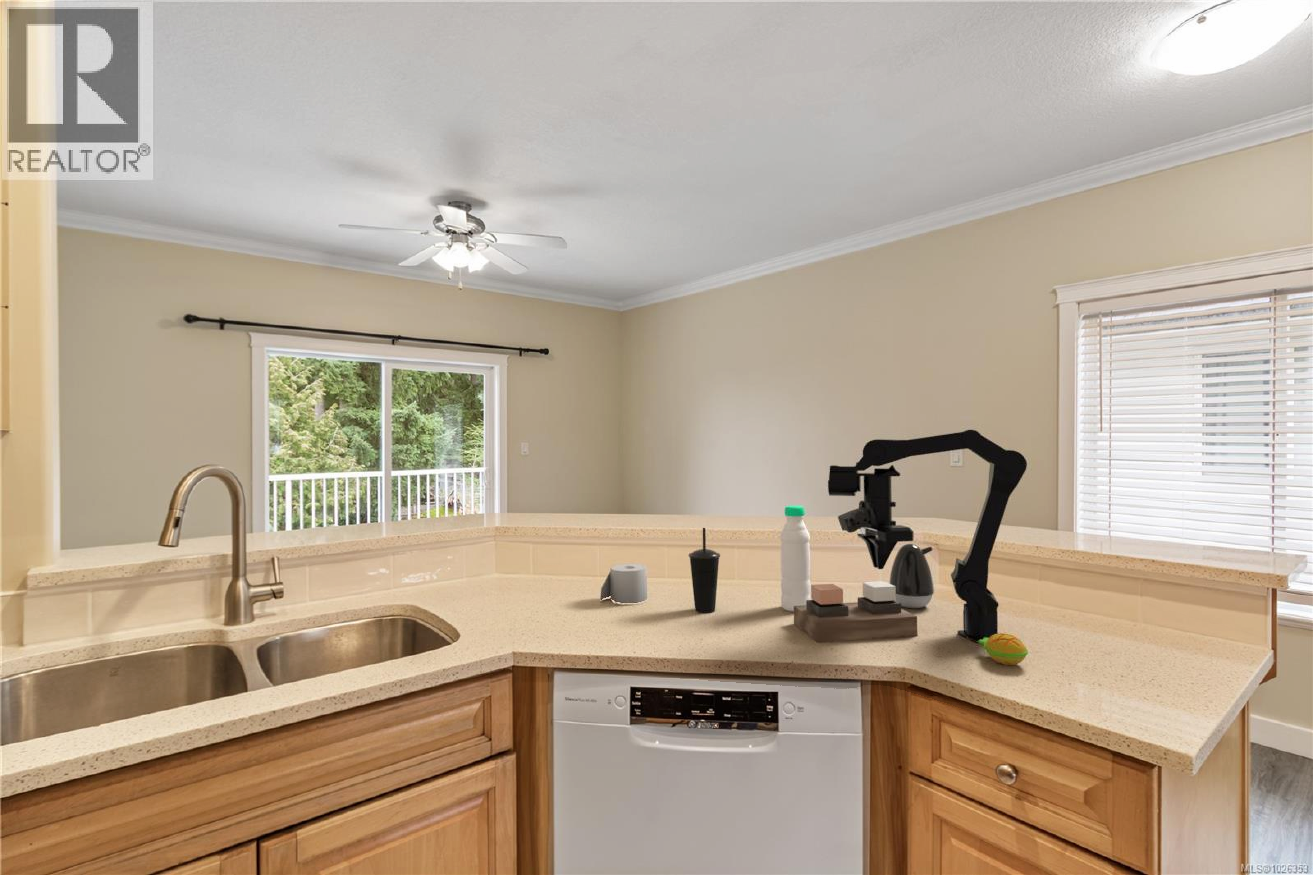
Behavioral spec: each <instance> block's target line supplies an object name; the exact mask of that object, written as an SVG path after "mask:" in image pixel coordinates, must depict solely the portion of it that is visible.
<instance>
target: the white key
mask: <svg viewBox="0 0 1313 875" xmlns="http://www.w3.org/2000/svg"><path fill="white" fill-rule="evenodd" d="M862 597H866V598H868V599H870V600H872V601H874V602H875V601H893V600H896V589H895V586H893V585H891V584H889V582H886V581H882V580H880V581H877V580H876V581H862Z"/></svg>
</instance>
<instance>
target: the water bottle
mask: <svg viewBox="0 0 1313 875" xmlns="http://www.w3.org/2000/svg"><path fill="white" fill-rule="evenodd" d="M805 510H806V509H805V507H804V506H802V505H787V506H786V507H785V508H784V516H785V518H786V521H785V524H784V526H783V529H782V530H781V533H780V536H779V537H780V542H781V544H780V573H781V582H780V587H781V595H780V596H781V597H780V599H781V600H780V601H781V602H780V605H781V608H782V609H783V610H785V611H787V612H793V613H794V606H800V605H806V600H812V599H811V580H810V576H811V551H810V549H811V548H810V540H811V536H810V535H811V534H810V533H809V531H808V529H807V526H806V524H805V523H804V518H805Z"/></svg>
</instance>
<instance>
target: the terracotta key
mask: <svg viewBox="0 0 1313 875" xmlns="http://www.w3.org/2000/svg"><path fill="white" fill-rule="evenodd" d="M810 586H811V588H810V598H811V600H814V601H816V602H817V603H819V604H821V605H822V604H840V603H844V589H843V588H842V587H839V586H838V585H836V584H834V583H824V584H821V583H820V584H810Z"/></svg>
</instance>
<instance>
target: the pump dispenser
mask: <svg viewBox="0 0 1313 875" xmlns="http://www.w3.org/2000/svg"><path fill="white" fill-rule="evenodd" d="M932 551H933V548H932V546H928V547H924V548H922V549H921V547H920V546H918V545H917V544H913V543H905V544H903V545H902V546H901V547H900V548H899V550H898V551H897V553H896V555H895V557H894V560H893V563H892V566H891V571H890V574H889V575H890V576H889V582H888V583H889V584H891V585H893V586H895V589H896V600H895V601H897V602H899V603H901V607H903V608H906V609H908V608H909V609H921V608H924V607H926V606H927V605H928V604H930V602H931V600H932V599H933V598H932V597H933V595H934V593H935V586H934V580H933V576H932V575H933V574H932V571H931V568H930V564H929V562H928V559H927V558H926V555H927V554H928V553H930V552H932Z"/></svg>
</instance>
